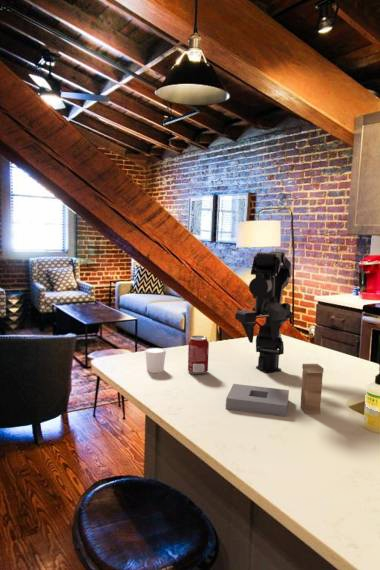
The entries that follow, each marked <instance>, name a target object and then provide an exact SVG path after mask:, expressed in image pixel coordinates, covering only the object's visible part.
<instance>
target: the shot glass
mask: <svg viewBox="0 0 380 570" xmlns="http://www.w3.org/2000/svg"><path fill="white" fill-rule="evenodd" d="M166 352H167V351H166V349H164V348H160V347H149V348H146V349H145V363H146V371H147V372H148V373H152V374H159V373H162V372H164V369H165V362H166V361H165V360H166Z"/></svg>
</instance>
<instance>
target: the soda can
mask: <svg viewBox="0 0 380 570" xmlns="http://www.w3.org/2000/svg"><path fill="white" fill-rule="evenodd" d="M209 345H210V342H209V340H208V337H207V336H205V335H192V336H190V339H189V341H188V350H187V351H188V352H187V353H188V354H187V355H188V356H187V371H188V372H189V373H190V374H193V375H199V376H200V375H204V374H206V373H207V372H208V371H209V348H210V346H209Z"/></svg>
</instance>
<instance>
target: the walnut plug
mask: <svg viewBox="0 0 380 570" xmlns="http://www.w3.org/2000/svg"><path fill="white" fill-rule="evenodd" d="M301 369H302V376H301V378H302V379H301V392H300V406H299V407H300V408H299V409H301V411H302V412H303V413H304V414H305V415H320V414H321V406H322V405H321V404H322V389H323V376H324V375H323V374H324V367H323V366H321V365H320V364H318V363H302V367H301Z"/></svg>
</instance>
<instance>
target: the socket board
mask: <svg viewBox="0 0 380 570" xmlns="http://www.w3.org/2000/svg"><path fill="white" fill-rule="evenodd" d="M289 394H290V390H289V389H285V388H284V389H282V388H276V387H274V388H273V387H265V386H257V385H248V384H241V383H238V384H237V383H233V384H232V386H231V387H230V390H229V392H228V394H227V396H226V399H225V410H232V411H233V410H234V411H239V412H240V411H241V412H248V413H256V414H257V413H258V414H264V415H272V416H281V417H287V413H288V407H289V406H288V404H289V399H290V398H289Z"/></svg>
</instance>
